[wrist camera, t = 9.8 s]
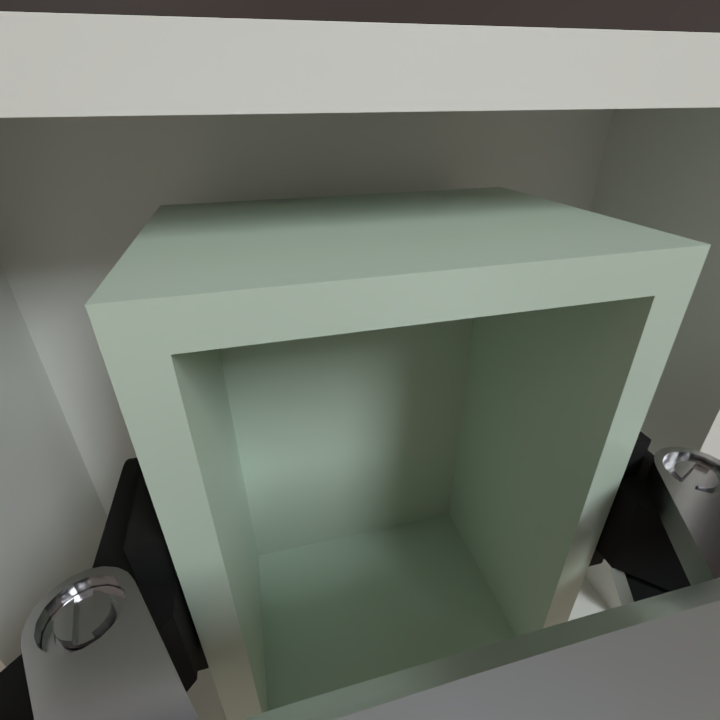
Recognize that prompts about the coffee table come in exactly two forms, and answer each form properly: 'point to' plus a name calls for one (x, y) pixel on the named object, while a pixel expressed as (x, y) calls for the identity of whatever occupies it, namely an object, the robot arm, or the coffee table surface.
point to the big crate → (299, 180)
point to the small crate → (383, 417)
